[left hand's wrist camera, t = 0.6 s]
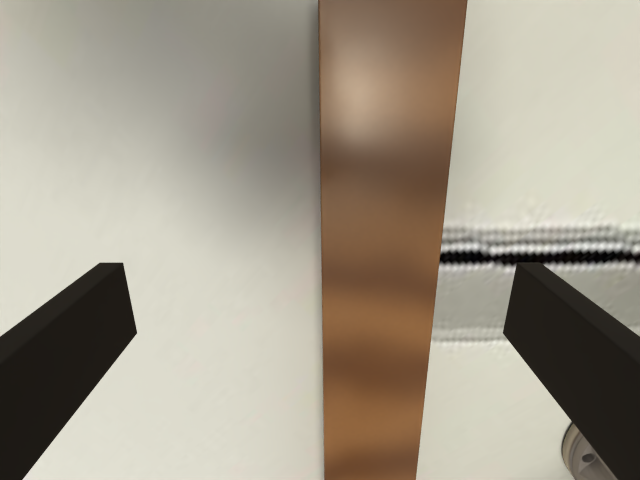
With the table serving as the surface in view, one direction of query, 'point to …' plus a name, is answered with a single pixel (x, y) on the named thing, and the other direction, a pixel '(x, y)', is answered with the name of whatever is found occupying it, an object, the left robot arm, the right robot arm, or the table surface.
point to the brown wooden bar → (382, 220)
